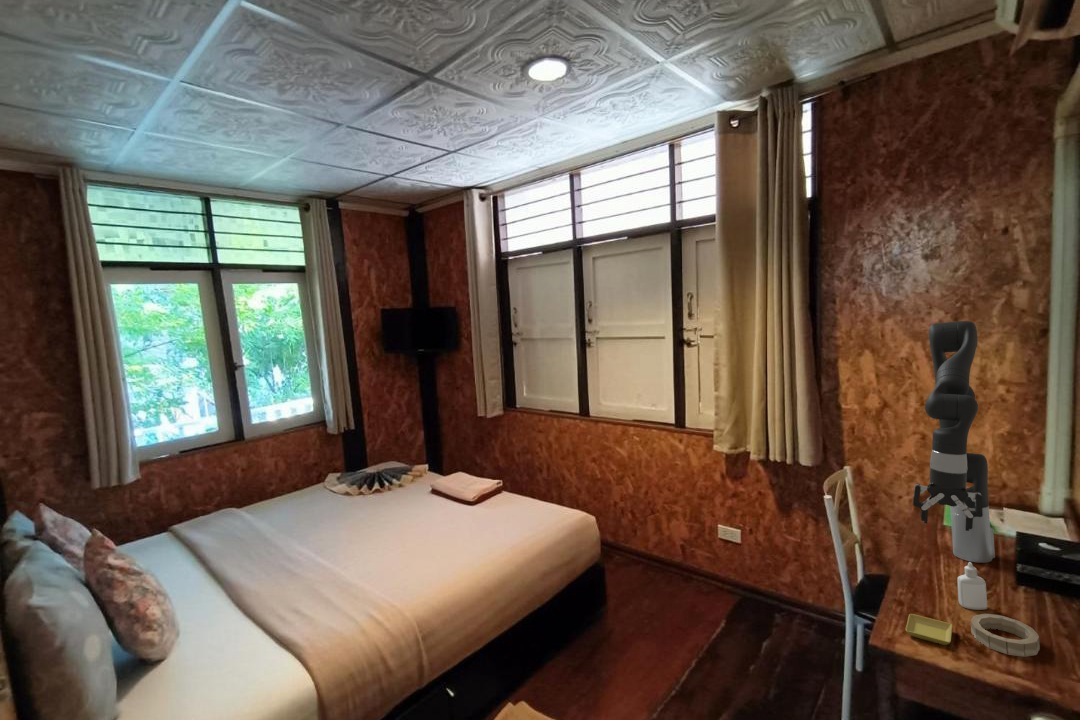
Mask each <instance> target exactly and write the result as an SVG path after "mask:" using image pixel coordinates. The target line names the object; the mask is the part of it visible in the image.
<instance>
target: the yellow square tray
mask: <svg viewBox="0 0 1080 720" xmlns="http://www.w3.org/2000/svg"><path fill="white" fill-rule="evenodd" d="M905 631H906V632H907V633H908V635H909V636H911V637H912V638H914V637H915V638H917V639H920V640H924V641H928V642H932V643H936V644H938V643H939V644H940V645H943V646H947V645H950V643H951V642H952V634H953V633H952V632H953V624H952V623H949V622H946V621H943V620H942V621H941V620H938V619H934V618H932V617H931V618H930V617H928V616H927V617H926V616H924V615H918V614H914V613H910V614H908V617H907V622H906V625H905Z"/></svg>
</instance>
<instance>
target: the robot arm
mask: <svg viewBox="0 0 1080 720" xmlns="http://www.w3.org/2000/svg"><path fill="white" fill-rule="evenodd" d="M978 337H979V336H978V330H977V327H976V324H975V323H974V322H973V321H969V320H968V321H967V320H960V321H945V322H937V323H933V324H931V325H930V326H929V330H928V341H929V349H930V353H931V359H932V365H933V373H934V381H935V383H934V385H935V386H934V388H933V390H932V391H931V392H930V394H929V395H928V396H927V398H926V400H925V402H924V410H925V414H926V415H928V417H929V418H931V419H934V420H938V423H939V428H936V429H934V430H933V431H932V440H931V441H932V442H931V443H932V444H931V454H930V460H929V469H930V470H929V484H928V485H923V484H920V483H914V489H913V491H914V492H913V499H912V504H913V507H917V508H919V509H920V520H921V521H922V522H923V524H928V518H929V517H928V516H929V514H928V513H929V510H928V509H930V507H932V506H934V505H935V504H936V503H937V504H938V505H942V506H949V510H950V524H951V525H950V526H951V540H952V554H953V555H954V556H955V557H957V558H958V559H961V560H964V561H966V562H971V563H978V564H980V563H981V564H982V563H983V564H984V563H990V562H992V561H993V559H995V558H996V554H995V538H994V528H992V527H991V523H990V521H991V519H990V518H991V517H990V504H989V503H990V502H989V489H988V487H989V486H988V485H989V484H988V478H989V477H988V476H989V473H988V472H989V465H988V461H987V458H986V456H985V455H984V454H982V453H981V454H980V453H971V452H967V449H968V448H967V447H968V437H969V432H970V429H971V426H972V424H973V422H974V420H975V418H976V417H977V416H976V415H977V414H978V410H979V405H978V402H977V401H978V400H976V394H975V392H974V390H973V388H972V386H970V372H971V368H972V365H973V361H974V358H975V355H976V350H977V347H978ZM946 353H954V354H953V355H952V356H951V357H949V358H948V359H947V357H946ZM967 483H968V484H973V486H969V487H968V488H967ZM925 491H927V492H928V494H929V495H930V496H929V497H927V498H926V499H925V501H923V502H922V501H920V498H921V496H920V495H921V494H924V493H925Z"/></svg>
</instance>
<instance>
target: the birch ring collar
mask: <svg viewBox="0 0 1080 720" xmlns="http://www.w3.org/2000/svg"><path fill="white" fill-rule="evenodd" d="M990 628H991V629H990ZM985 629H986V630H985ZM996 629H998V631H1004V632H1007V633H1009V634H1013V635H1016V636H1018V637H1020V638H1021V639H1013V638H1006V637H1003V636H999V635H997V634H994V633H991V632H990V631H988V630H996ZM970 632H971V634H972V636H973V635H974V636H973V637H974V639H975V638H976V639H975V640H976V641H977V642H979V643H980V642H981V643H980V644H982V645H983V644H984V646H985V647H987V648H988V649H991V650H993V651H996V652H999V653H1003V654H1005V655H1009V656H1015V657H1024V658H1026V657H1031V656H1037V655H1038V653H1039V651H1040V648H1041V647H1040V635H1039V634H1038V633H1037V632H1036V631H1035V630H1034V628H1033V627H1031V626H1029V625H1027V624H1025V623H1024V622H1022V621H1020V620H1017V619H1014V618H1010V617H1007V616H1004V615H1000V614H991V613H981V614H976V615H974V616H973V617H972V618H971V619H970Z"/></svg>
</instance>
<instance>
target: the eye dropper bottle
mask: <svg viewBox="0 0 1080 720" xmlns="http://www.w3.org/2000/svg"><path fill="white" fill-rule="evenodd" d="M967 562H968V563H967V565H965V566H964V574H961V575H959V576H957V598H958V603H959V605H960V606H961V607H962V608H964V609H969V610H975V611H977V610H978V611H979V610H980V611H981V610H983V611H984V610H987V609H988V599H987V598H988V595H987V585H986V581H985V580H984V578H982V577H980V576H978V570H977V568H976V567H975V566H974V565H973V562H971V561H967Z"/></svg>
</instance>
